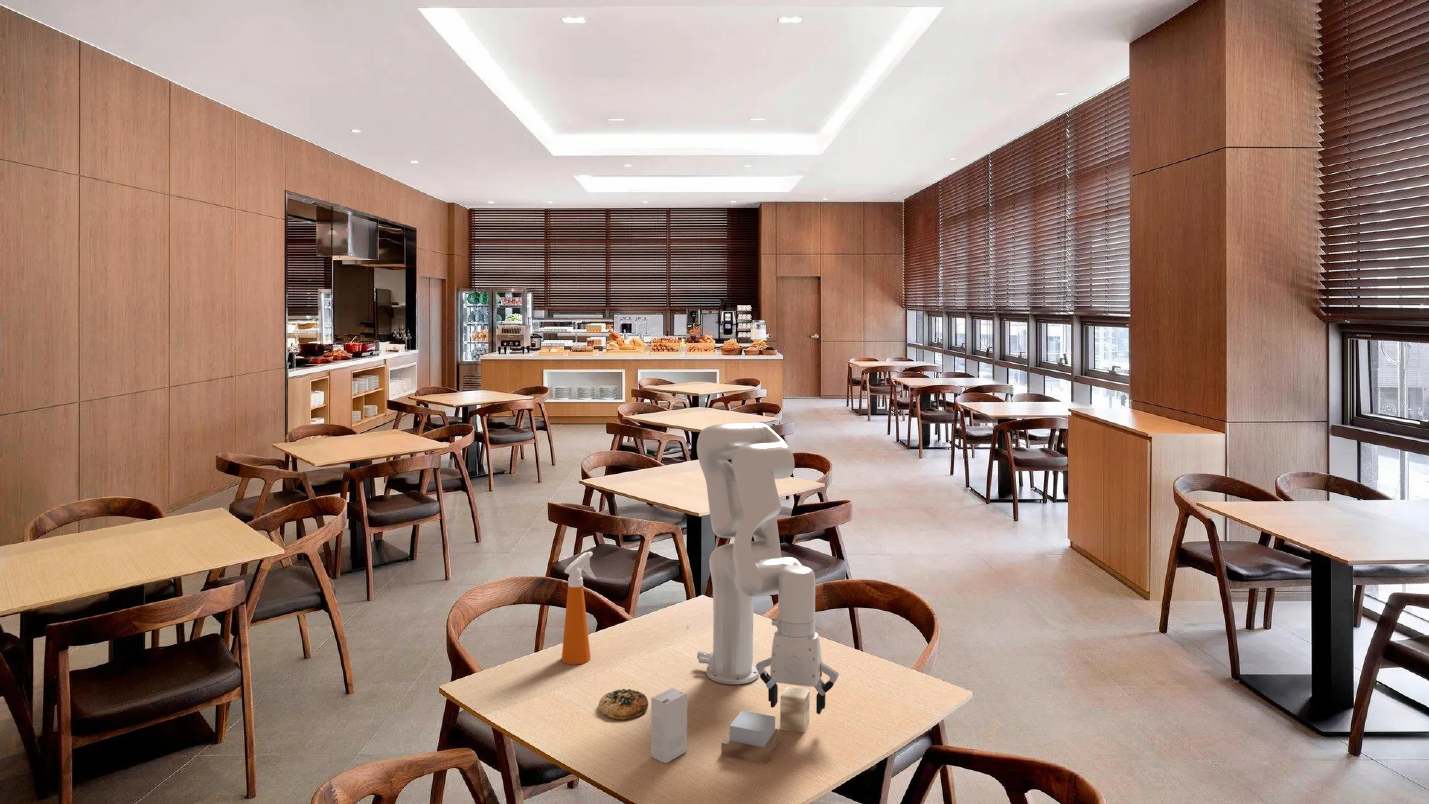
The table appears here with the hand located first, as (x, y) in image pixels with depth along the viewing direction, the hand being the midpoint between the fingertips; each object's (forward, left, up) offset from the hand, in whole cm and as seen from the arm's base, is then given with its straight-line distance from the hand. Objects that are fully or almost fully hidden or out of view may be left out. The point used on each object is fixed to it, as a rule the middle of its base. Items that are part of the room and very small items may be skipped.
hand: (796, 708), depth 169 cm
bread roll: (-37, -5, -5) cm, 38 cm away
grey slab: (-6, -11, -2) cm, 13 cm away
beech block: (0, 0, -4) cm, 4 cm away
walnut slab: (-6, -12, -5) cm, 14 cm away
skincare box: (-20, -20, -4) cm, 29 cm away
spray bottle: (-59, +17, -4) cm, 62 cm away
